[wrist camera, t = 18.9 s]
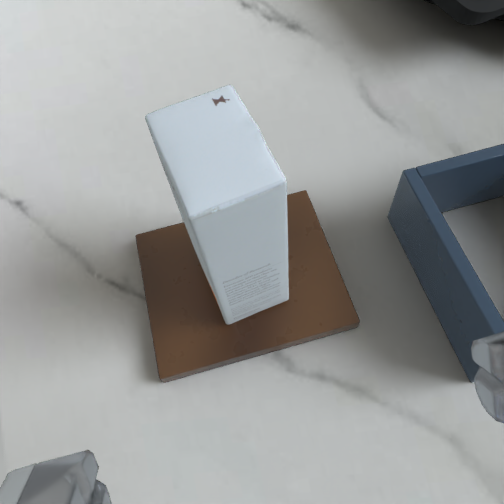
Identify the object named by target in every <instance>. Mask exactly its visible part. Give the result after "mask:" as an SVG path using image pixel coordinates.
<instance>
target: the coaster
mask: <svg viewBox="0 0 504 504" xmlns="http://www.w3.org/2000/svg"><path fill="white" fill-rule="evenodd" d="M287 217H288V278H289V299H288V300H287V301H285V302H282V303H280V304H277V305H275V306H273V307H270V308H268V309H265V310H263V311H260V312H258V313H255V314H253V315H251V316H248V317H246V318H244V319H241V320H239V321H237V322H235V323H232V324H226V323H225V321H224V318H223V316H222V313H221V311H220V308H219V306H218V304H217V301H216V299H215V297H214V294H213V292H212V290H211V287H210V285H209V282H208V280H207V278H206V276H205V273H204V271H203V268H202V266H201V264H200V261H199V259H198V256H197V254H196V252H195V249H194V247H193V244H192V241H191V239H190V236H189V234H188V231H187V229H186V226H185V224H184V222H183V223H179V224H176V225H172V226H168V227H164V228H160V229H157V230H153V231H149V232H145V233H142V234H138V235H136V242H137V248H138V254H139V260H140V266H141V272H142V278H143V284H144V290H145V296H146V302H147V308H148V314H149V320H150V325H151V331H152V337H153V343H154V349H155V355H156V361H157V367H158V373H159V378H160V380H161V381H162V382H163V383H165V382H169V381H172V380H176V379H179V378H183V377H186V376H190V375H193V374H197V373H200V372H204V371H207V370H210V369H214V368H217V367H221V366H224V365H228V364H231V363H235V362H238V361H242V360H245V359H249V358H252V357H256V356H259V355H263V354H266V353H270V352H273V351H277V350H280V349H284V348H287V347H291V346H294V345H298V344H301V343H305V342H308V341H312V340H315V339H319V338H322V337H326V336H329V335H333V334H336V333H340V332H343V331H346V330H350V329H353V328H357V327H358V325H359V322H360V320H359V318H358V315H357V313H356V311H355V308H354V306H353V303H352V301H351V298H350V296H349V294H348V291H347V289H346V286H345V284H344V281H343V279H342V276H341V274H340V272H339V269H338V267H337V264H336V262H335V259H334V257H333V255H332V252H331V250H330V247H329V245H328V242H327V240H326V237H325V235H324V233H323V230H322V228H321V225H320V223H319V220H318V218H317V216H316V213H315V211H314V208H313V206H312V203H311V201H310V198H309V196H308V194H307V191H306V190H304V191H300V192H297V193H293V194H289V195H287Z"/></svg>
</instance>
